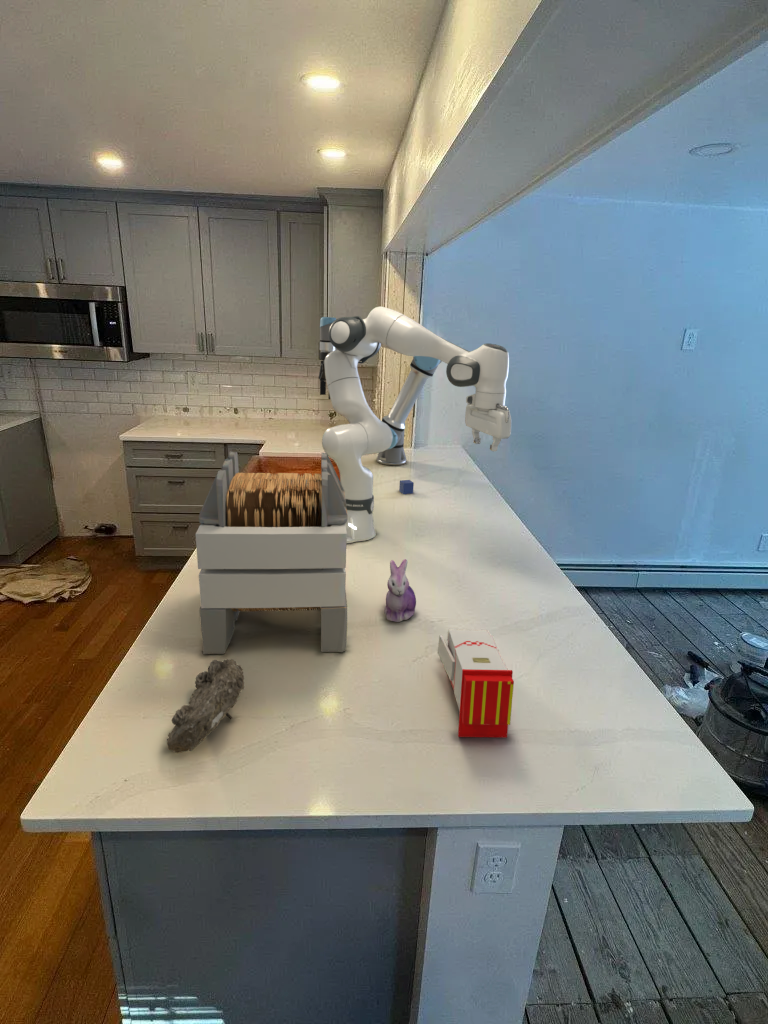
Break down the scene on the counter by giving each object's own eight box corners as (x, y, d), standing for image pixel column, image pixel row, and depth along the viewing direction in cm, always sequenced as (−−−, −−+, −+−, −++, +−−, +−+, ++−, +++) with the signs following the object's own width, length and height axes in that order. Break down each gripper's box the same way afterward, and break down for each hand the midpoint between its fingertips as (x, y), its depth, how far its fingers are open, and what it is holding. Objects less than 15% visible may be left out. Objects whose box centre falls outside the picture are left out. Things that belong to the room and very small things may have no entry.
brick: (413, 493, 244) (413, 482, 243) (403, 494, 243) (403, 483, 241) (408, 490, 248) (409, 479, 247) (399, 491, 247) (399, 480, 245)
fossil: (192, 660, 117) (244, 628, 112) (224, 691, 120) (276, 661, 115) (142, 746, 98) (202, 712, 93) (182, 779, 101) (242, 748, 96)
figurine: (392, 627, 141) (395, 572, 136) (374, 608, 149) (376, 556, 144) (425, 619, 145) (429, 566, 140) (405, 601, 154) (408, 550, 149)
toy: (488, 613, 130) (523, 677, 101) (484, 667, 133) (517, 744, 104) (435, 612, 130) (455, 676, 101) (432, 666, 133) (451, 743, 103)
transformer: (223, 585, 158) (215, 442, 144) (341, 584, 161) (344, 444, 148) (200, 656, 126) (186, 481, 112) (347, 652, 130) (351, 482, 116)
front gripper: (519, 407, 160) (513, 454, 164) (480, 396, 177) (476, 439, 182) (500, 407, 157) (494, 456, 162) (463, 396, 175) (459, 440, 180)
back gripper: (344, 354, 259) (342, 400, 266) (327, 349, 280) (326, 392, 287) (328, 353, 256) (327, 401, 263) (312, 349, 277) (312, 393, 284)
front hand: (484, 447), depth 172 cm, fingers open, 8 cm apart
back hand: (327, 396), depth 275 cm, fingers open, 13 cm apart
